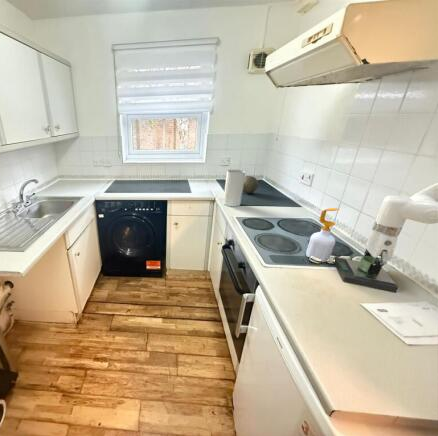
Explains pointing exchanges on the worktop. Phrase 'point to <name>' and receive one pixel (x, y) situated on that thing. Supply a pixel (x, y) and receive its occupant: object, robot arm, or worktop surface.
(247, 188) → the cantaloupe
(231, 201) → the cylinder vase
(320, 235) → the soap bottle
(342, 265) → the scale
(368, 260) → the bowl
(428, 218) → the robot arm
